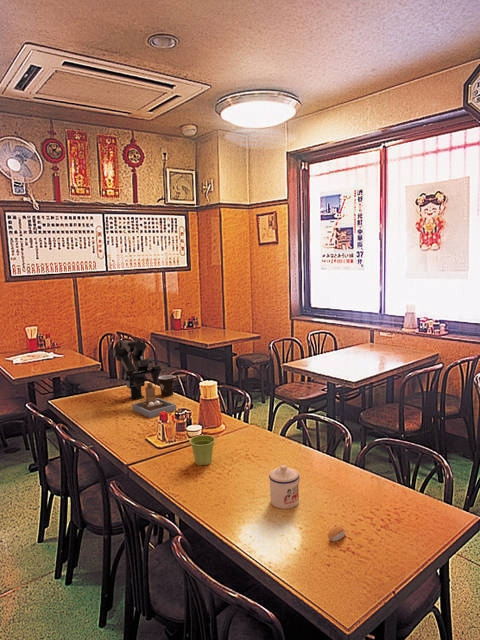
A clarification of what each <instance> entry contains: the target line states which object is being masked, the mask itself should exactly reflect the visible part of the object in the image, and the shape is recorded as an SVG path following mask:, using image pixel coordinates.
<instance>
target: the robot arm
mask: <svg viewBox="0 0 480 640" xmlns="http://www.w3.org/2000/svg"><path fill="white" fill-rule="evenodd" d="M146 350H147V343H145V342H143V341H141V339H138V340H134V341H131V340H127V339H123V340H121V339H120V340H119V341H117V344H116V345H115V346H114V347H113V351H112V352H113V353H112V354H113V358H115V360H116V361H118V362H121V364H122V366H123V368H124V375H123V378H124V381H126V383H125V385H126V388H128V389H129V390H130V396H128V398H129V399H131V400H133V401H135V400H140V399H143V398H145V396H144V395H142V387H145V385H146V383H145V382H146V377H145V375H147V374H149V375H150V374H151V377H152V381H153V383H154V385H155V386H157V384H158V383H157V382H158V381H157V379H158V377H159V375H160V374H161V371H162V367H161V366H160V365H159V364H158V365H153V366H152V367H151V369H149V366H150V365H152V364H153V358H152V357H147V358H145V359H144V355H145V353H146ZM130 353H131V355H130ZM129 356H130V357H131V359H130V357H129ZM131 360H132V361H131ZM155 386H154V387H155Z"/></svg>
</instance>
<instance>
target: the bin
mask: <svg viewBox="0 0 480 640" xmlns="http://www.w3.org/2000/svg"><path fill="white" fill-rule="evenodd" d="M155 399H156V400H158V401H160V402H161V403H163V408H159V409H156V410H152V411H149V410H146V409H144V408H143V403H142V402H144V403H146V400H145V401H140V402H136V403H133V404H131V408H132V411H133V412H135V413H136V414H140V415H142V416H144V417H146V418H149V419H151V418H155V417H158V415H159V413H160V412H163V411H165V412H169V413H172V412H171V411H173V412H175V411H174V410H176V411H177V404H175V403H172V402H170V401H168V400H165V399H162V398H159V397H155ZM146 404H147V403H146ZM159 416H160V415H159Z"/></svg>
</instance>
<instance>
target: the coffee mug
mask: <svg viewBox="0 0 480 640" xmlns="http://www.w3.org/2000/svg"><path fill="white" fill-rule="evenodd" d="M157 379H158V384H159V389H160V393H161V397H172V396H174V390H175V389H176V388H177V387H178V383H177V381H176V380H175V375H173V374H166V375H160V376H157ZM174 385H175V386H174Z"/></svg>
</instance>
